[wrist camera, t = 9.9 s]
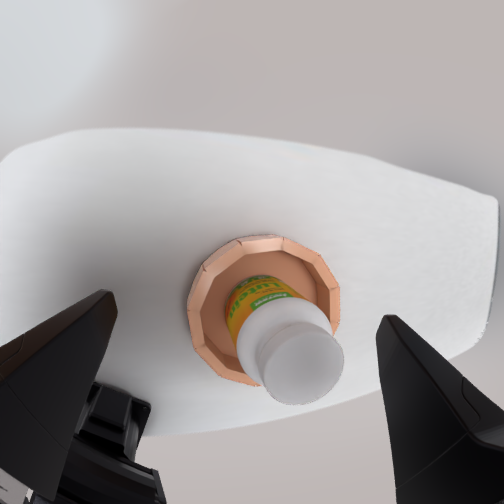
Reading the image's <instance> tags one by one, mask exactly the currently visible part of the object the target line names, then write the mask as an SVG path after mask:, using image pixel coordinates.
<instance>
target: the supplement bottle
mask: <svg viewBox="0 0 504 504" xmlns="http://www.w3.org/2000/svg"><path fill="white" fill-rule="evenodd" d="M224 316H225V321H226V324H227V327H228V330H229V333H230V336H231V339H232V341H233V345H234V348H235V350H236V354H237V356H238V359H239V362H240V364H241V366H242V368H243V370H244V371H245V373H246V374H247V375H248V376H249V377H250V378H251V379H252V380H253V381H255V382H256V383H258V384H260V385H262V386H265V387H266V389H267V391H268V392H269V394H270V395H271V396H272V397H273V398H274V399H276V400H277V401H279V402H281V403H284V404H288V405H303V404H308V403H311V402H313V401H316V400H318V399H319V398H321V397H323V396H324V395H326V394H327V393H328V392H329V391H330V390H331V389H332V388H333V387H334V386H335V385H336V383H337V382H338V380H339V378H340V376H341V374H342V371H343V367H344V354H343V350H342V348H341V346H340V344H339V343H338V342H337V341H336V339H335V338H333V332H332V328H331V325H330V322H329V320H328V319H327V317H326V316H325V314H324V313H323V312H322V311H321V310H320V309H319V308H318V307H317V306H316V305H314V304H313V303H312V302H310V301H309V300H308V299H306V298H305V297H304V296H302V295H301V294H299V293H298V292H297V291H296V290H294V289H293V288H292V287H290V286H289V285H288V284H286V283H285V282H283V281H282V280H280V279H278V278H276V277H273V276H270V275H255V276H251V277H248V278H246V279H244V280H242V281H241V282H239V283H238V284H237V285H236V286H235V287H234V288H233V289H232V290H231V292H230V293H229V295H228V297H227V299H226V302H225V307H224Z"/></svg>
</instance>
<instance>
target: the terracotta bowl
mask: <svg viewBox="0 0 504 504" xmlns="http://www.w3.org/2000/svg"><path fill="white" fill-rule="evenodd" d="M255 275H270V276H273V277H276V278H278V279H280V280H282V281H283V282H285V283H286V284H288V285H289V286H290V287H292V288H293V289H294V290H296V291H297V292H298V293H299V294H301V295H302V296H304V297H305V298H306V299H308V300H309V301H310V302H312V303H313V304H314V305H316V306H317V307H318V308H319V309H320V310H321V311H322V312H323V313H324V314H325V316H326V317H327V319H328V320H329V322H330V325H331V328H332V332H333V336H334V334H335V332H336V330H337V328H338V325H339V323H338V322H340V287H339V286H338V285H339V284H338V282H337V281H336V279H335V278H334V276H333V274H332V273H331V271H330V269H329V268H328V266H327V265H326V263H325V261H324V260H323V258H322V257H321V255H319V253H317V252H314V251H312V250H310V249H308V248H306V247H304V246H302V245H300V244H297V243H295V242H293V241H291V240H289V239H287V238H284V237H281V236H277V235H273V234H272V235H256V236H248V237H242V238H238V239H236V240H232V241H231V242H229V243H227V244H225V245H224V246H222V247H221V248H219V249H217V250H216V251H215V252H214V253H213V254H212V255H210V256H209V258H208V259H207V260H206V261H204V262H203V264H202V265H201V267H200V269H199V271H198V272H197V274H196V276H195V278H194V281H193V284H192V287H191V291H190V293H189V296H188V298H187V314H188V319H189V325H190V331H191V337H192V342H193V347H194V350H195V351H196V352H197V353H198V354H199V355H200V357H201V358H202V359H203V360H204V361H205V362H206V363H207V364H208V365H209V366H210V367H211V368H212V369H213V370H214V371H215V372H216V373H217V374H218V375H219V376H221V377H222V378H226V379H229V380H233V381H236V382H240V383H243V384H247V385H251V386H262V385H260V384H258V383H256V382H255V381H253V380H252V379H251V378H250V377H249V376H248V375H247V374H246V373H245V371H244V370H243V368H242V366H241V364H240V362H239V359H238V356H237V354H236V350H235V348H234V345H233V341H232V339H231V336H230V333H229V330H228V327H227V324H226V321H225V316H224V307H225V302H226V299H227V297H228V295H229V293H230V292H231V290H232V289H233V288H234V287H235V286H236V285H237V284H238V283H239V282H241V281H242V280H244V279H246V278H248V277H251V276H255Z"/></svg>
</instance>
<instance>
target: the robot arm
mask: <svg viewBox="0 0 504 504" xmlns="http://www.w3.org/2000/svg"><path fill="white" fill-rule="evenodd" d="M117 314H118V310H117V306H116V302H115V298H114V295H113V292H112V291H110V290H103V289H101V290H99V291H97V292H95V293H93V294H92V295H90V296H88V297H86V298H85V299H83V300H81V301H79V302H77V303H76V304H74V305H72V306H70V307H69V308H67V309H65V310H63V311H61V312H60V313H58V314H56V315H55V316H53V317H51V318H49V319H48V320H46V321H44V322H42V323H41V324H39V325H37V326H36V327H34V328H32V329H31V330H29V331H27V332H25V334H22V335H20V336H19V337H17V338H15V339H14V340H12V341H10V342H8V343H7V344H5V345H3V346H1V347H0V504H166V498H165V495H164V491H163V488H162V484H161V480H160V477H159V473H158V471H157V470H154V469H149V468H147V467H144V466H142V465H139V464H137V463H135V462H134V461H135V454H136V450H137V447H138V444H139V441H140V439H141V436H142V433H143V431H144V428H145V425H146V422H147V420H148V417H149V414H150V412H151V406H150V404H148V403H146V402H143V401H141V400H138V399H135V398H132V397H130V396H128V395H125V394H122V393H120V392H117V391H115V390H112V389H110V388H107V387H105V386H102V385H100V384H97V383H95V382H93V381H94V379H95V376H96V374H97V371H98V369H99V367H100V364H101V362H102V359H103V357H104V355H105V352H106V349H107V346H108V343H109V340H110V337H111V333H112V330H113V327H114V324H115V321H116V318H117ZM376 346H377V356H378V367H379V377H380V383H381V389H382V394H383V400H384V405H385V411H386V417H387V423H388V430H389V436H390V444H391V450H392V459H393V467H394V476H395V487H396V502H397V504H504V411H503V410H502V409H501V408H500V407H499V406H497V405H496V404H495V403H494V402H492V401H491V400H490V399H489V398H488V397H486V396H485V395H484V394H483V393H482V392H481V391H479V390H478V389H477V388H476V387H475V386H474V385H473V384H472V383H471V382H470V381H468V380H467V379H466V378H465V377H464V376H463V375H462V374H461V373H460V372H459V371H458V370H457V369H456V368H455V367H454V366H452V365H451V364H450V363H449V362H448V361H447V360H446V359H445V358H444V357H443V356H442V355H441V354H439V353H438V352H437V351H436V350H435V349H434V348H433V347H432V346H431V345H430V344H428V343H427V342H426V341H425V340H424V339H423V338H422V337H421V336H420V335H418V334H417V333H416V332H415V331H414V330H413V329H412V328H410V327H409V326H408V325H407V324H406V323H405V322H404V321H402V320H401V319H400V318H399V317H398V316H397V315H384V316H383V318H382V320H381V323H380V325H379V328H378V330H377V333H376ZM143 407H146V408H147V409H144V408H143ZM28 488H30V489H31V490H33V494H32V496H31V499H30V502H29V501H28V498H27V497H26V494H27V491H28Z"/></svg>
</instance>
